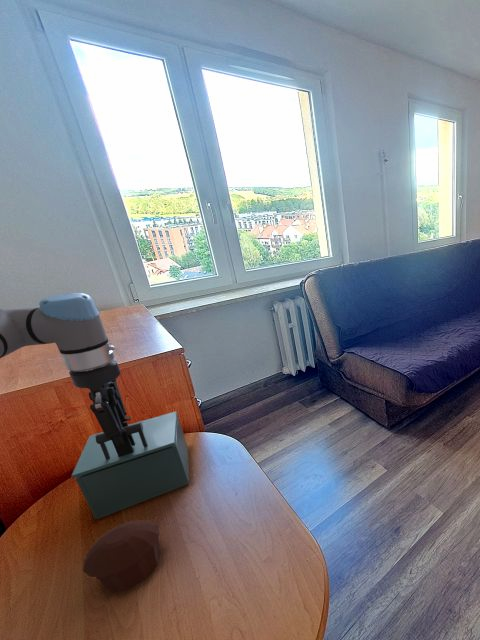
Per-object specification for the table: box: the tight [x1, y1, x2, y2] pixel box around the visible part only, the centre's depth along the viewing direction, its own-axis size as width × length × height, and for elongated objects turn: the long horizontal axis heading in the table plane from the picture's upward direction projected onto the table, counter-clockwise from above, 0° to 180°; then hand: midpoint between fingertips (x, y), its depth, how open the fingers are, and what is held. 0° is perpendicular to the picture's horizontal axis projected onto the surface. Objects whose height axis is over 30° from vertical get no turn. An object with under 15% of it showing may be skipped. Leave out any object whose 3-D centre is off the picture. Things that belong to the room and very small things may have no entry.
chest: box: [75, 414, 190, 520], centre depth 88 cm, size 16×19×13 cm
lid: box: [71, 411, 178, 479], centre depth 84 cm, size 17×19×8 cm
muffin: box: [82, 520, 161, 593], centre depth 67 cm, size 12×11×10 cm
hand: (127, 450), depth 80 cm, fingers closed on lid, 2 cm apart
